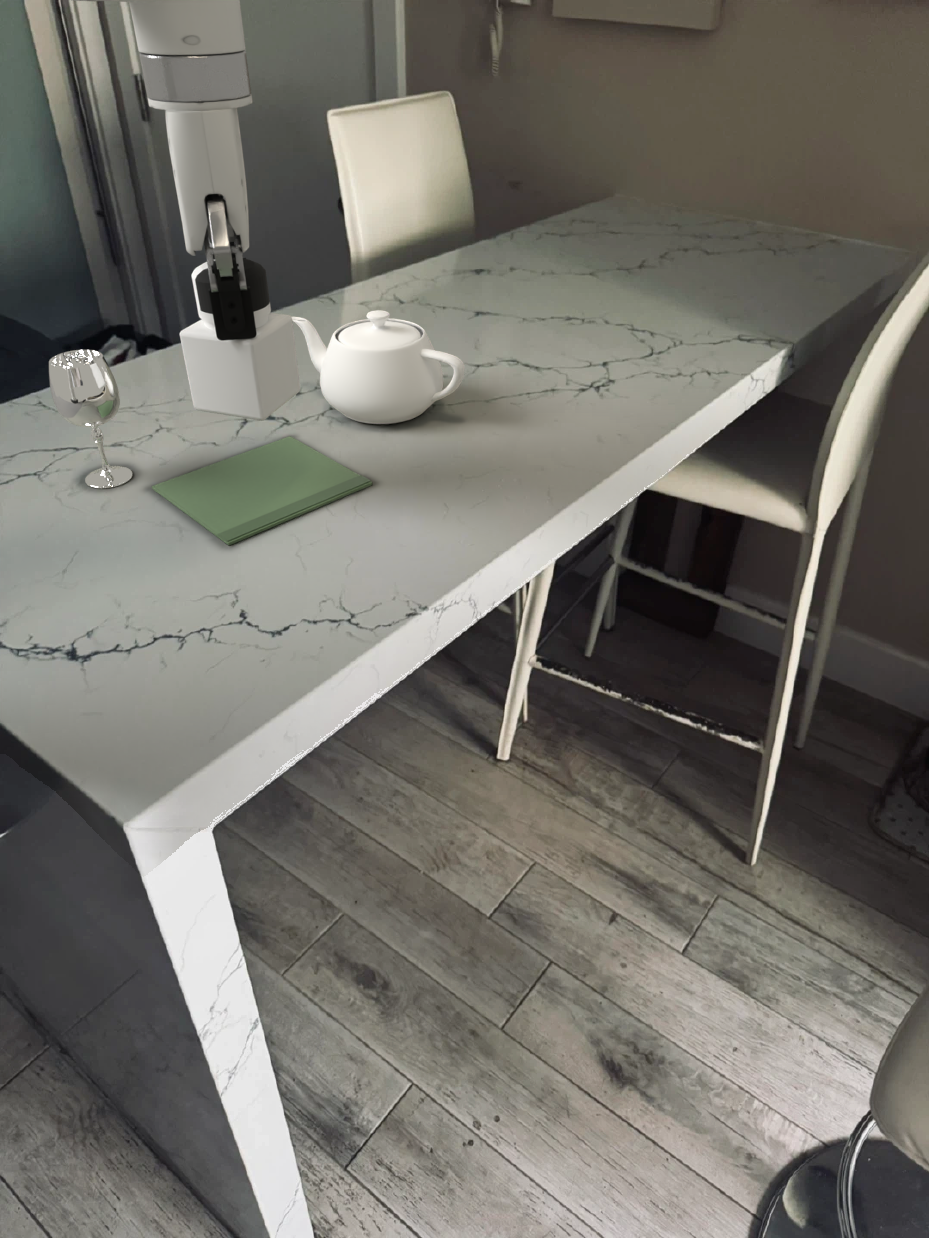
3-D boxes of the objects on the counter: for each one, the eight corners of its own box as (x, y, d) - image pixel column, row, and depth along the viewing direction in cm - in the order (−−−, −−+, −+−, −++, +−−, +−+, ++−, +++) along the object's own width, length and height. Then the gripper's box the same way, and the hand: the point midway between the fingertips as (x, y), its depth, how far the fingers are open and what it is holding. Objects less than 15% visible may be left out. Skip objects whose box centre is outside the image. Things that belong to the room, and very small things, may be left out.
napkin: (228, 545, 76) (228, 542, 76) (152, 488, 84) (151, 485, 84) (372, 484, 85) (372, 481, 85) (290, 438, 93) (289, 435, 93)
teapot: (491, 402, 100) (492, 308, 94) (433, 450, 91) (431, 349, 84) (331, 369, 108) (323, 280, 102) (263, 410, 99) (249, 314, 92)
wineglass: (151, 473, 87) (123, 355, 79) (104, 497, 83) (70, 376, 76) (113, 459, 89) (81, 343, 82) (65, 481, 85) (28, 362, 78)
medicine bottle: (302, 391, 81) (286, 256, 74) (264, 422, 76) (243, 280, 68) (235, 381, 83) (213, 248, 76) (192, 411, 77) (165, 271, 70)
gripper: (150, 70, 70) (191, 294, 81) (137, 98, 57) (189, 362, 67) (245, 68, 72) (273, 288, 82) (255, 95, 58) (287, 354, 69)
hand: (235, 320), depth 75 cm, fingers closed on medicine bottle, 7 cm apart
